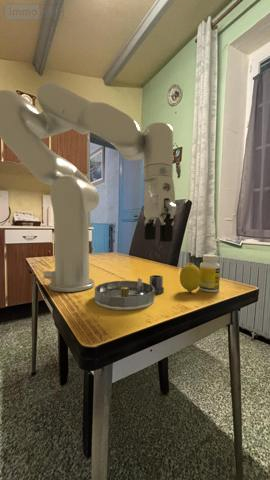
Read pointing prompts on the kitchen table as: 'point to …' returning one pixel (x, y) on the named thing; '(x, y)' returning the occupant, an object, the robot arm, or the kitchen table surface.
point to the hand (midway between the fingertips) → (157, 240)
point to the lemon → (190, 277)
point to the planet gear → (157, 283)
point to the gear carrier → (124, 295)
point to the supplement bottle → (210, 274)
